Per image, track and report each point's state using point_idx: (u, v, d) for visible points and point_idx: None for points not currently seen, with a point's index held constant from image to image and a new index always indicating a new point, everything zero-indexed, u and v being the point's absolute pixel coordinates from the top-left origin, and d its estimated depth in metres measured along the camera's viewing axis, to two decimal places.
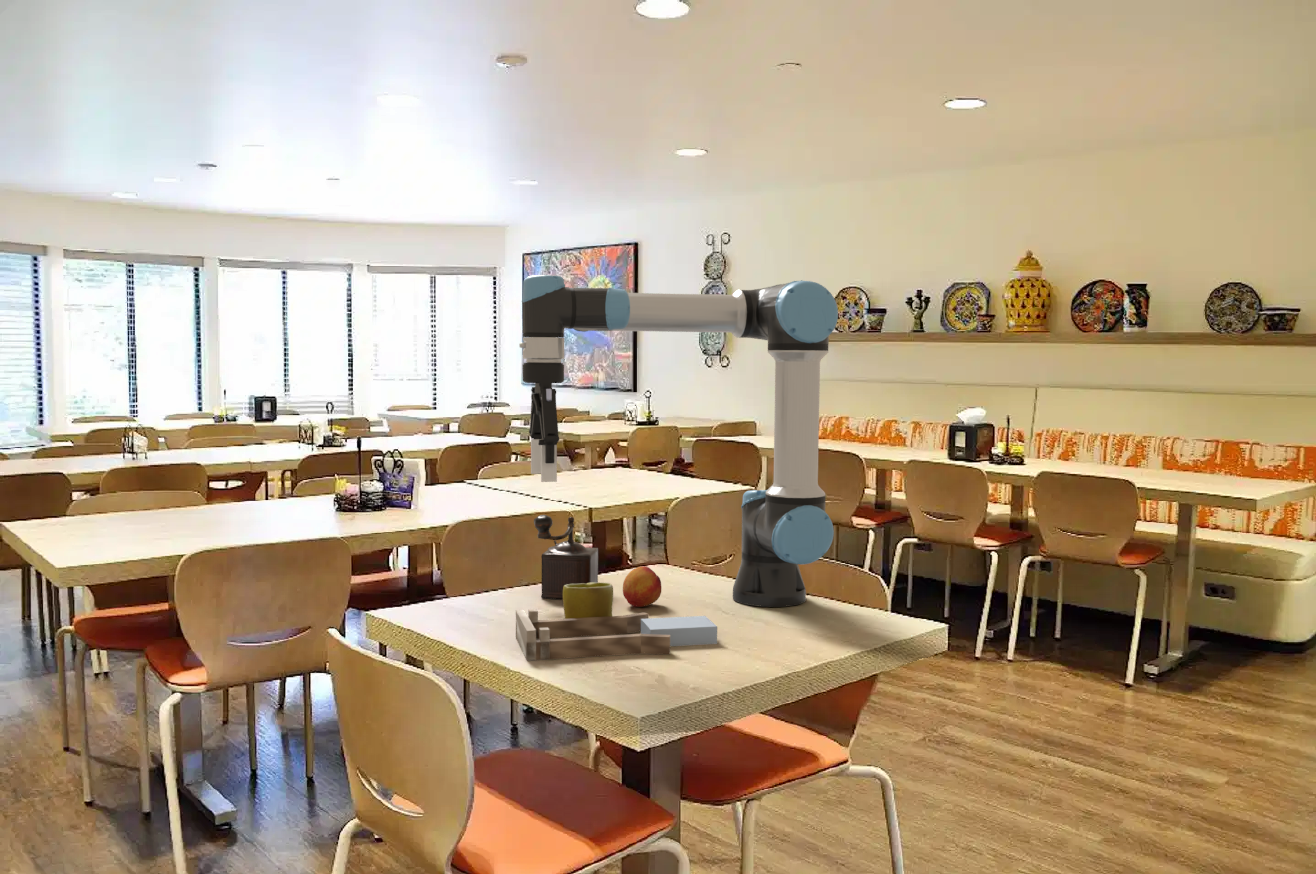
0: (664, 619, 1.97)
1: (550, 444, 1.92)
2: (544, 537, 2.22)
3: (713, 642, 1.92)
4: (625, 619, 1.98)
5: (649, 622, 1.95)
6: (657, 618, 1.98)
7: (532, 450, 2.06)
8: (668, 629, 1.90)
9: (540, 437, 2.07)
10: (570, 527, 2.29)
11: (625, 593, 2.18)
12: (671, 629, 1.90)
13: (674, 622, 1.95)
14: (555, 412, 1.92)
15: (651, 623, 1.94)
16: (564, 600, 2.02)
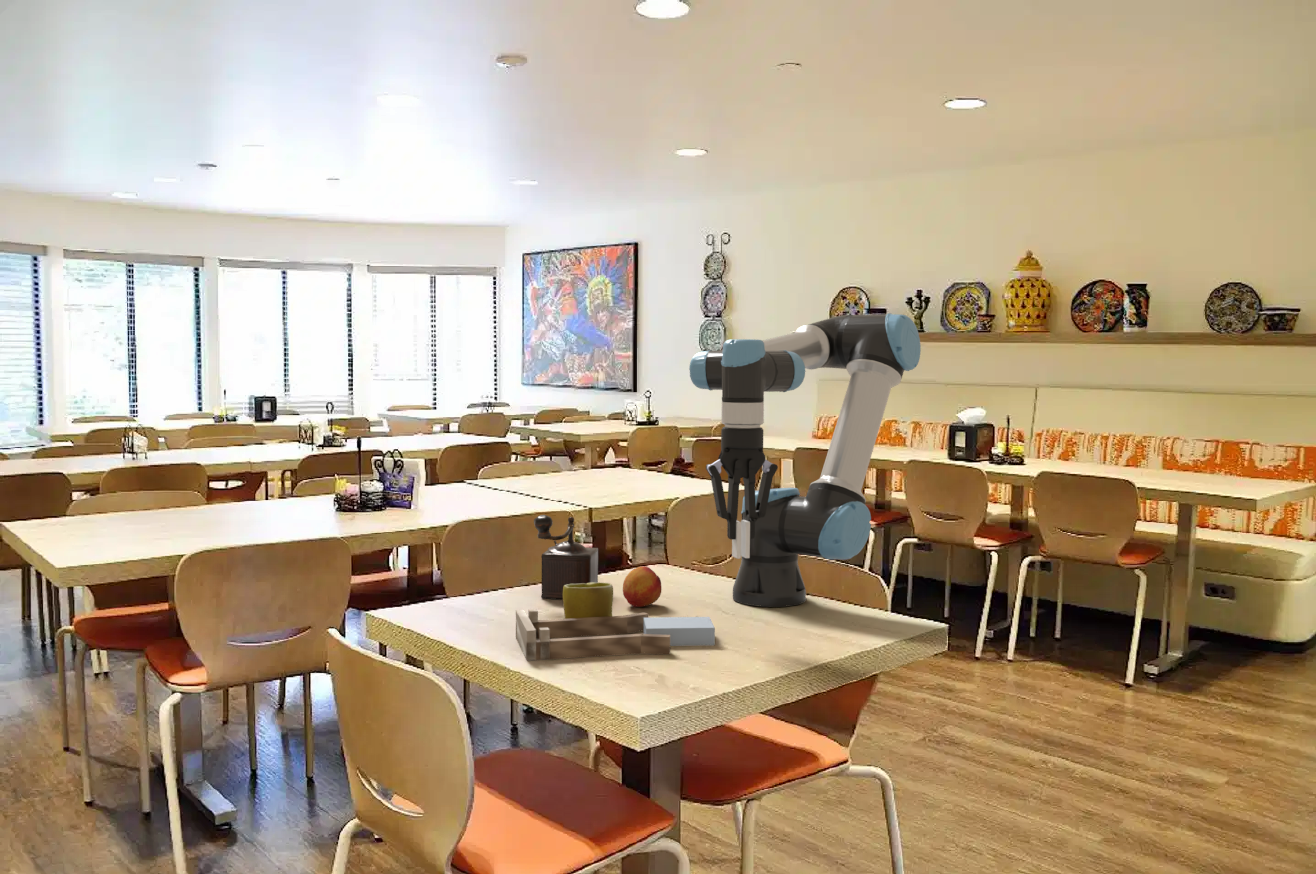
0: (666, 619, 1.97)
1: (727, 520, 1.96)
2: (544, 537, 2.22)
3: (710, 643, 1.91)
4: (625, 619, 1.98)
5: (649, 621, 1.95)
6: (660, 617, 1.98)
7: (741, 531, 1.98)
8: (664, 629, 1.91)
9: (747, 517, 1.96)
10: (570, 527, 2.29)
11: (625, 593, 2.18)
12: (667, 629, 1.91)
13: (674, 622, 1.95)
14: (716, 490, 1.94)
15: (651, 622, 1.95)
16: (564, 600, 2.02)
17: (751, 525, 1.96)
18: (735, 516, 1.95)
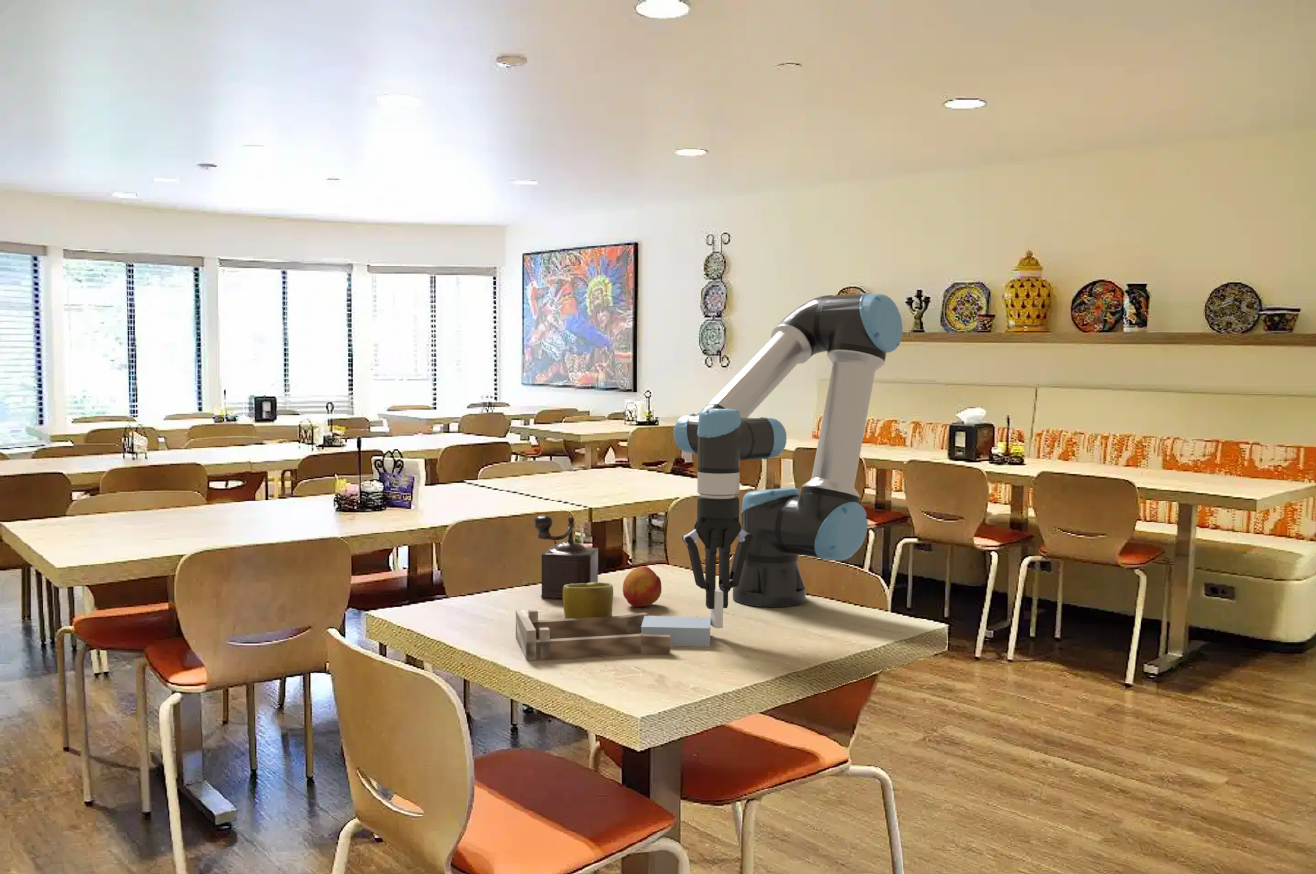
0: (666, 618, 1.97)
1: (705, 589, 1.95)
2: (544, 537, 2.22)
3: (706, 644, 1.91)
4: (625, 619, 1.98)
5: (648, 619, 1.96)
6: (660, 616, 1.98)
7: None
8: (659, 627, 1.91)
9: (721, 586, 1.96)
10: (570, 527, 2.29)
11: (625, 593, 2.18)
12: (662, 628, 1.91)
13: (672, 621, 1.95)
14: (693, 560, 1.93)
15: (649, 621, 1.95)
16: (564, 600, 2.02)
17: (724, 594, 1.96)
18: (713, 586, 1.94)
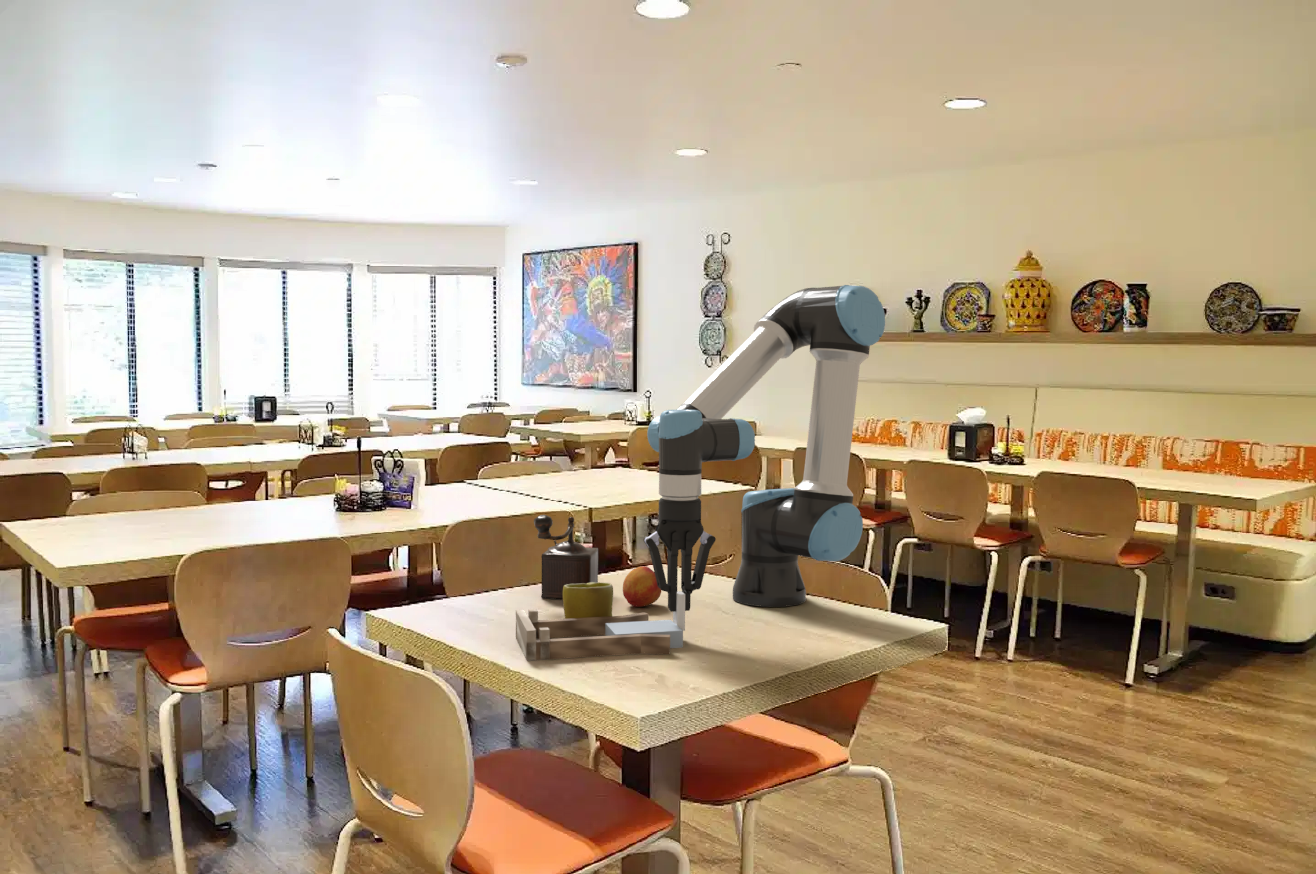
0: (629, 623, 1.94)
1: None
2: (544, 537, 2.22)
3: (679, 646, 1.90)
4: (625, 619, 1.98)
5: (614, 626, 1.92)
6: (622, 622, 1.95)
7: None
8: None
9: (683, 588, 1.94)
10: (570, 527, 2.29)
11: (625, 593, 2.18)
12: None
13: (639, 626, 1.92)
14: (654, 562, 1.92)
15: (616, 628, 1.91)
16: (564, 600, 2.02)
17: (687, 597, 1.94)
18: (675, 588, 1.93)
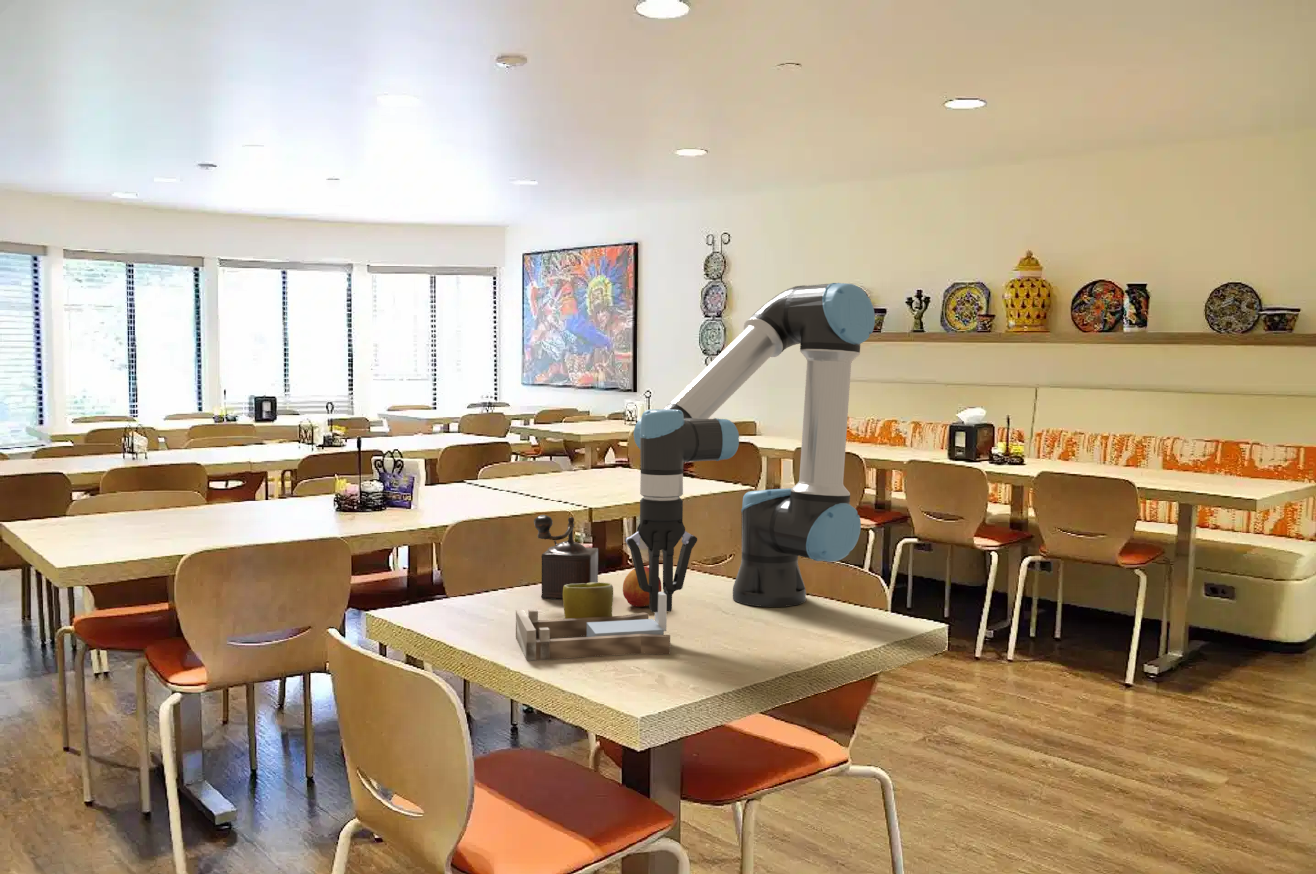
0: (610, 622, 1.93)
1: (649, 592, 1.93)
2: (544, 537, 2.22)
3: None
4: (625, 619, 1.98)
5: (595, 626, 1.91)
6: (603, 622, 1.94)
7: None
8: (613, 633, 1.87)
9: (664, 589, 1.93)
10: (570, 527, 2.29)
11: (625, 593, 2.18)
12: (616, 633, 1.87)
13: (620, 625, 1.91)
14: (635, 563, 1.91)
15: (597, 627, 1.90)
16: (564, 600, 2.02)
17: (668, 597, 1.93)
18: (656, 589, 1.92)
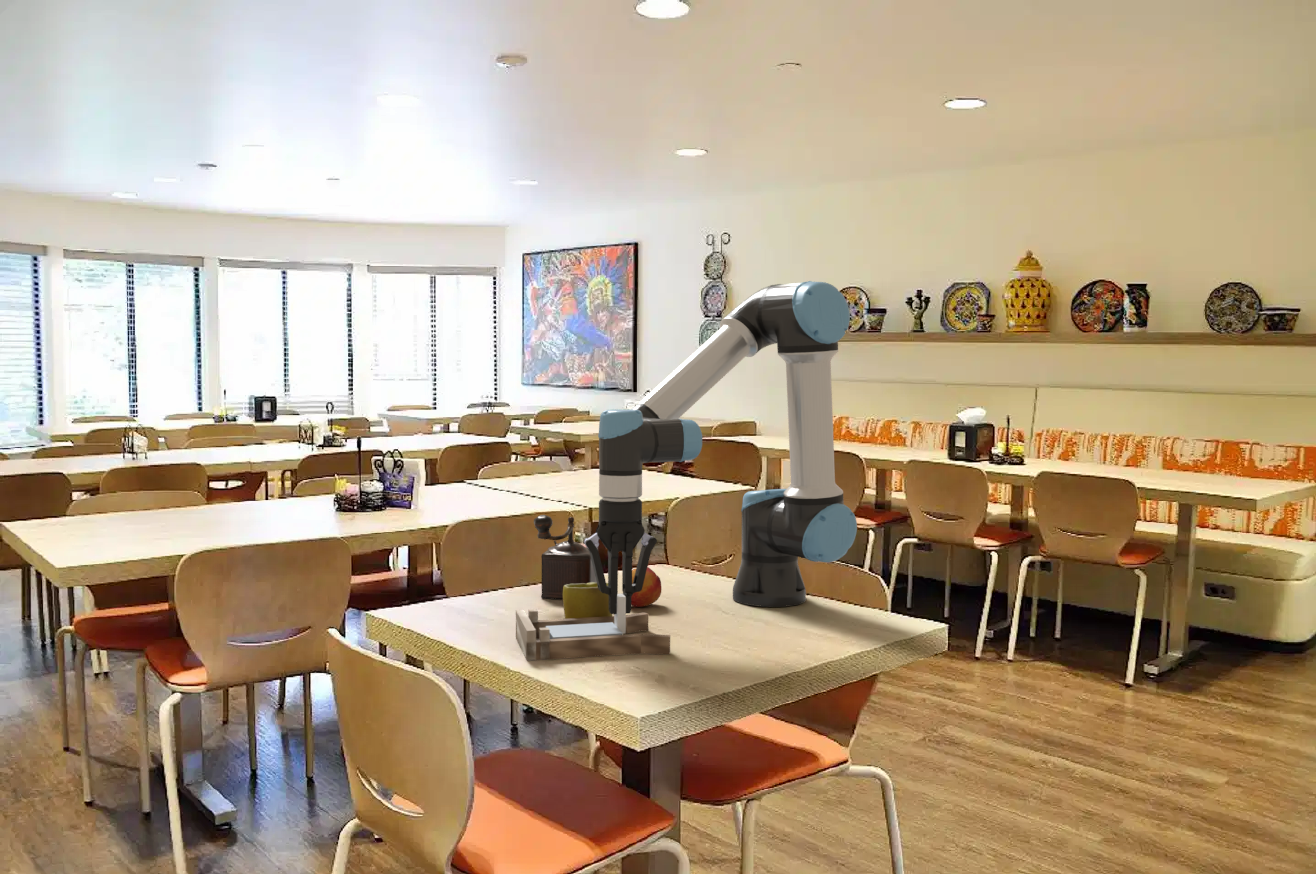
0: (569, 626, 1.91)
1: (608, 594, 1.91)
2: (544, 537, 2.22)
3: None
4: None
5: (553, 629, 1.89)
6: (562, 625, 1.92)
7: None
8: (572, 636, 1.84)
9: (623, 591, 1.91)
10: (570, 527, 2.29)
11: None
12: (575, 636, 1.85)
13: (579, 629, 1.89)
14: (594, 564, 1.89)
15: (555, 630, 1.88)
16: (564, 600, 2.02)
17: (627, 599, 1.91)
18: (615, 591, 1.90)
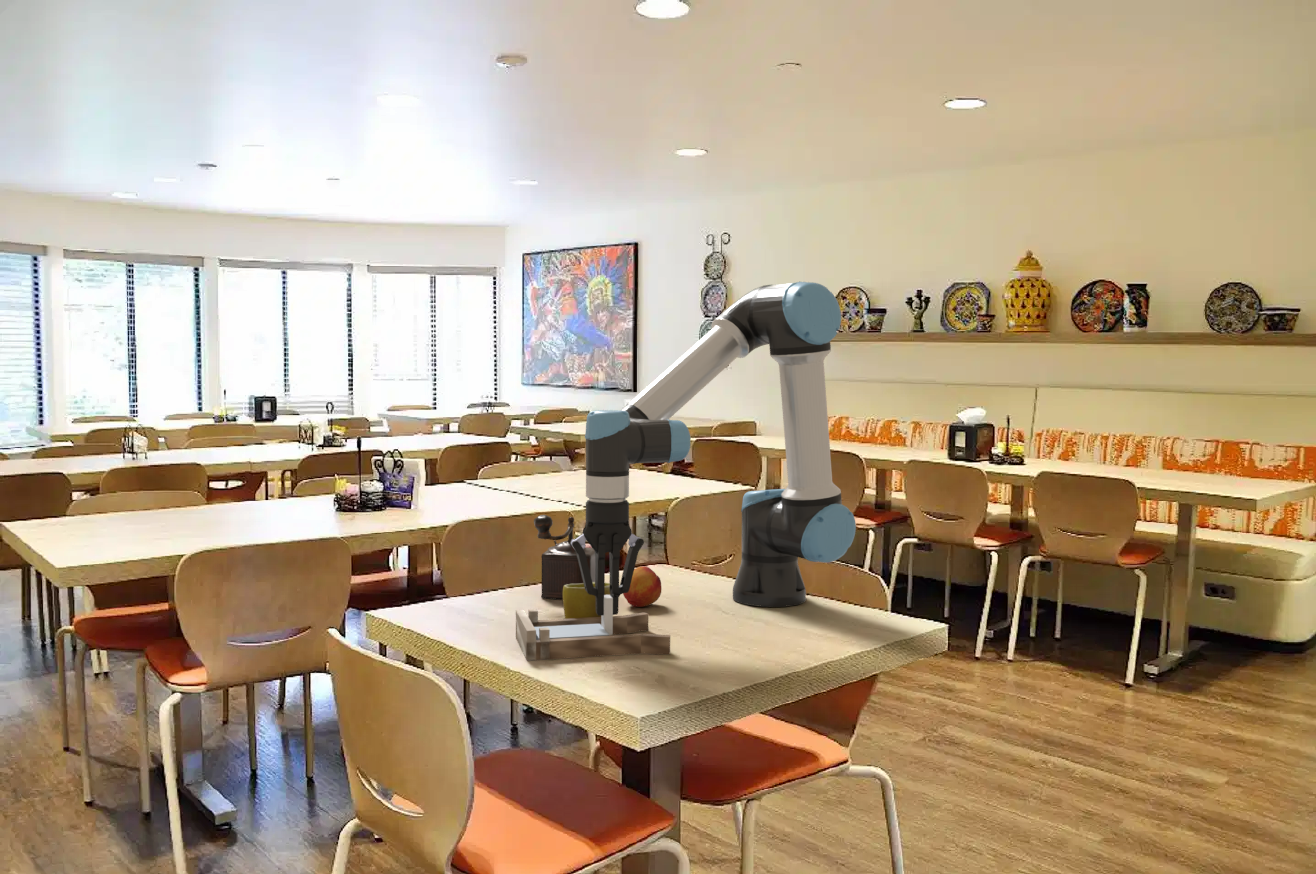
0: (556, 627, 1.91)
1: (594, 595, 1.91)
2: (544, 537, 2.22)
3: None
4: (625, 619, 1.98)
5: None
6: (549, 626, 1.91)
7: None
8: (558, 638, 1.84)
9: (610, 592, 1.91)
10: (570, 527, 2.29)
11: (625, 593, 2.18)
12: None
13: (566, 630, 1.88)
14: (581, 566, 1.89)
15: None
16: (564, 600, 2.02)
17: (614, 600, 1.91)
18: (602, 592, 1.90)
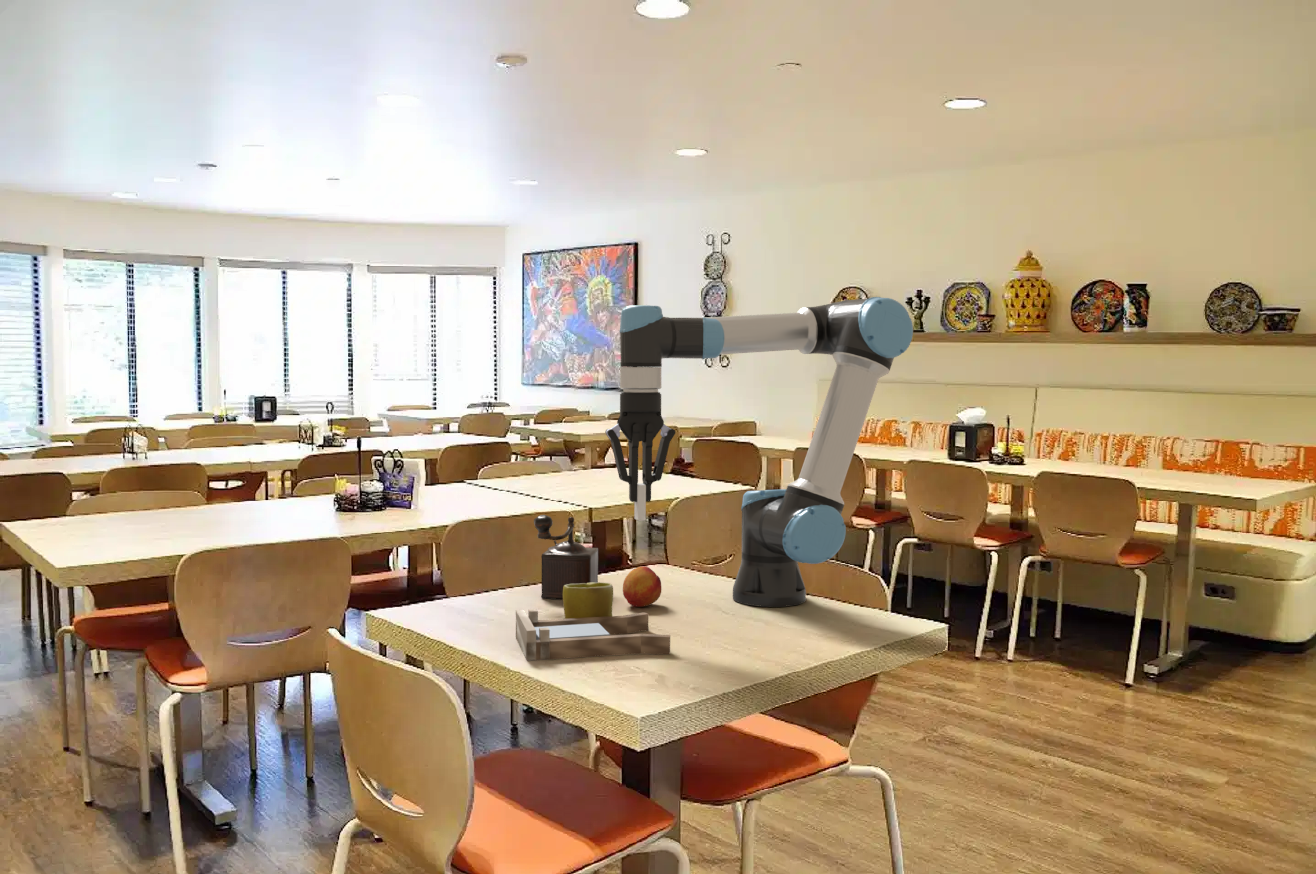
0: (556, 627, 1.90)
1: None
2: (544, 537, 2.22)
3: None
4: (625, 619, 1.98)
5: None
6: (548, 626, 1.91)
7: None
8: (558, 638, 1.84)
9: (643, 480, 2.00)
10: (570, 527, 2.29)
11: (625, 593, 2.18)
12: None
13: (565, 630, 1.88)
14: (615, 453, 1.98)
15: None
16: (564, 600, 2.02)
17: (647, 488, 2.00)
18: (636, 479, 1.99)
